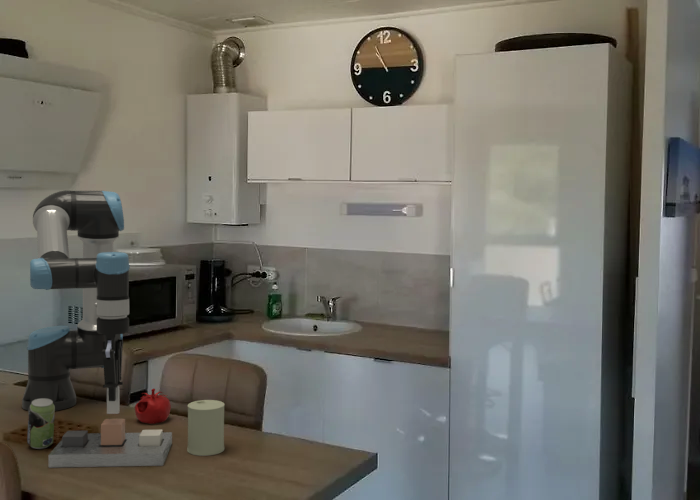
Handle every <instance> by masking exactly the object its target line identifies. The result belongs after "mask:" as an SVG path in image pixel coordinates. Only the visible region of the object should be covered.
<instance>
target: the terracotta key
mask: <svg viewBox="0 0 700 500" xmlns="http://www.w3.org/2000/svg"><path fill="white" fill-rule="evenodd" d="M100 433H101V445H122V443H123V442H124V440H125V433H126V418H104V420H103V421H102V423H101V424H100Z"/></svg>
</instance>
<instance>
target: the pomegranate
mask: <svg viewBox="0 0 700 500" xmlns="http://www.w3.org/2000/svg"><path fill="white" fill-rule="evenodd" d="M155 392H156V388H152V389H151V394H148V393H147V392H142V396H141V397H140V398H139V399H140V400H139V401H138V402H136V404H135V405H134V412H135V416H136V418H137V420H138V421H139V422H141V423H143V424H148V425H149V424H150V425H151V424H152V425H153V424H155V425H156V424H161V423H164V422H165V421H166V420H167V419H168V417H169V416H170V412H171V408H172V405H171V402H170V399H169V398H167V395H166V394H163V392H162V391H158V392H156V393H155ZM160 393H161V394H160ZM143 394H144V395H143Z"/></svg>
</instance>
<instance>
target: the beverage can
mask: <svg viewBox="0 0 700 500" xmlns="http://www.w3.org/2000/svg"><path fill="white" fill-rule="evenodd" d="M55 415H56V414H55V406H54V404H53V401H52V400H50V399H46V398H40V399H35V400H33V401H32V404H31V405H30V406H29V411H28V417H27V439H26V441H27V442H26V444H27V445H28V446H29V447H31V448H32V449H35V450H36V449H37V450H43V449H46V448H48V447H50V446H51V445H52V444H53V443H54V434H55V433H54V432H55V430H54V429H55Z"/></svg>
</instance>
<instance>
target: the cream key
mask: <svg viewBox="0 0 700 500" xmlns="http://www.w3.org/2000/svg"><path fill="white" fill-rule="evenodd" d="M162 432H163V429H142V431H141V432H140V433H141V434H140V435H139V446H161V445H162Z"/></svg>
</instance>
